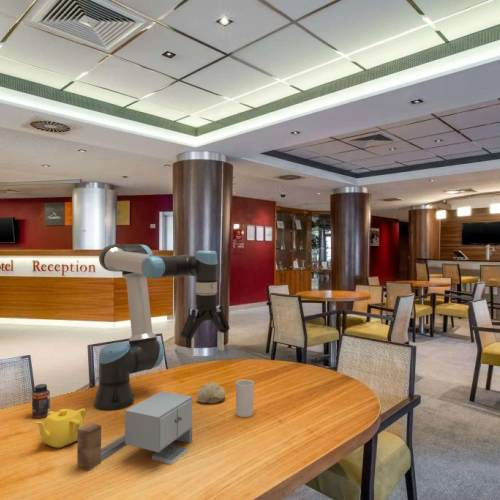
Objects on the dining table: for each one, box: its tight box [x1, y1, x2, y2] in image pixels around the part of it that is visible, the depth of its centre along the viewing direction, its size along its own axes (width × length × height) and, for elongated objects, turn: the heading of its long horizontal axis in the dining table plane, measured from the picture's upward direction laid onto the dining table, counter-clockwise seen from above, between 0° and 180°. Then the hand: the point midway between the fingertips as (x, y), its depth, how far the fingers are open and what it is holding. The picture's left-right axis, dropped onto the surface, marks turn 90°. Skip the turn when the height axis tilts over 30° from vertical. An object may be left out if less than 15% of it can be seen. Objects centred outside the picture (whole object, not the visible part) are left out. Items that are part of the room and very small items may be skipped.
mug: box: [235, 379, 255, 418], centre depth 159 cm, size 10×7×12 cm, turn 23°
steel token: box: [151, 443, 188, 465], centre depth 126 cm, size 7×8×2 cm
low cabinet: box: [124, 390, 193, 453], centre depth 129 cm, size 13×18×14 cm
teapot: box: [34, 408, 87, 449], centre depth 135 cm, size 14×13×10 cm
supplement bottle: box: [31, 383, 51, 419], centre depth 155 cm, size 6×6×11 cm
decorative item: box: [196, 381, 226, 404], centre depth 171 cm, size 12×9×10 cm
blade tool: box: [76, 422, 128, 471], centre depth 128 cm, size 4×22×11 cm, turn 156°
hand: (206, 353), depth 149 cm, fingers open, 13 cm apart
